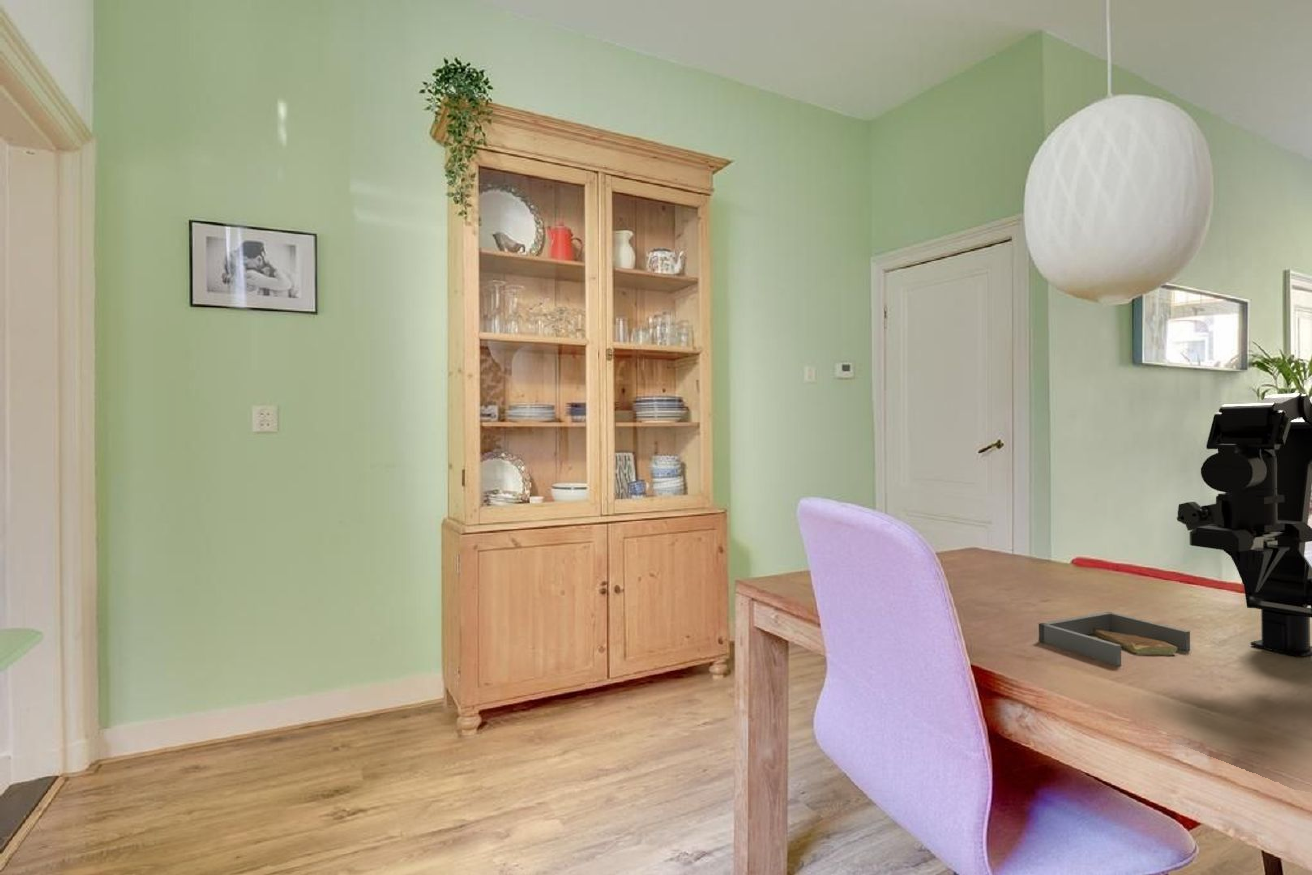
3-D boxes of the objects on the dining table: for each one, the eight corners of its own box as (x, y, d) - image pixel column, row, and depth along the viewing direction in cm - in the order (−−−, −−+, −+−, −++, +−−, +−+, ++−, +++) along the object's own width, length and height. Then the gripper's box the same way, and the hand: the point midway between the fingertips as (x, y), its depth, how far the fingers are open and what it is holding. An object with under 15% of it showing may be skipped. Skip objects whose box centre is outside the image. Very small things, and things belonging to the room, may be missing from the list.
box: (1108, 628, 118) (1108, 611, 118) (1190, 649, 106) (1189, 631, 106) (1038, 640, 111) (1038, 623, 111) (1116, 665, 99) (1116, 645, 99)
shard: (1093, 636, 115) (1092, 626, 115) (1137, 637, 114) (1137, 627, 114) (1134, 657, 104) (1134, 646, 104) (1184, 657, 103) (1184, 646, 103)
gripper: (1226, 480, 107) (1228, 574, 107) (1150, 487, 101) (1152, 586, 101) (1314, 485, 97) (1315, 589, 97) (1235, 492, 90) (1237, 604, 90)
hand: (1252, 591), depth 96 cm, fingers closed
